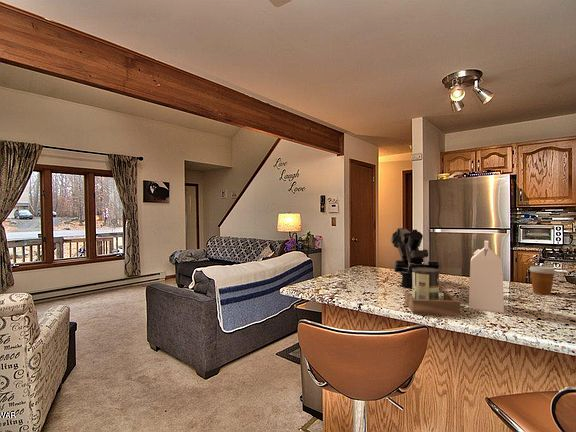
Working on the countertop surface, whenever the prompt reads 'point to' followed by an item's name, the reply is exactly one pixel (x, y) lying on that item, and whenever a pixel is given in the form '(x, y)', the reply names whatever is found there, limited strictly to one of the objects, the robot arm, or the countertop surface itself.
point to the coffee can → (425, 283)
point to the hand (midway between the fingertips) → (419, 282)
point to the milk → (486, 281)
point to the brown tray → (433, 305)
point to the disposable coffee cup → (542, 279)
